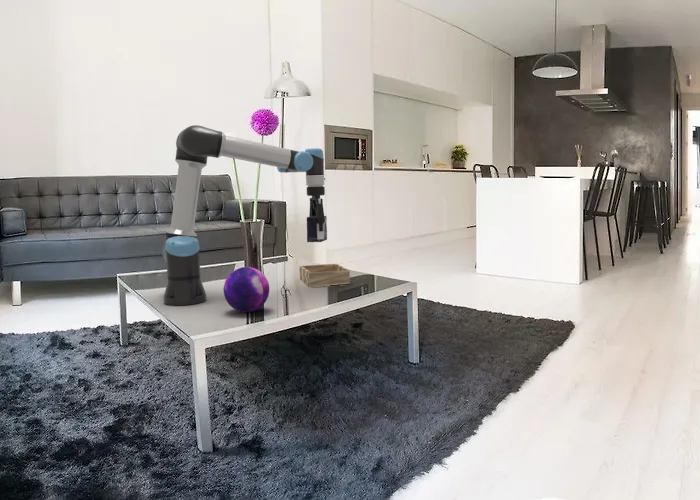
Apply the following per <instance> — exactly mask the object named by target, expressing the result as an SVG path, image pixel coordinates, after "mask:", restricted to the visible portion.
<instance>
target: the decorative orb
mask: <svg viewBox="0 0 700 500" xmlns="http://www.w3.org/2000/svg"><path fill="white" fill-rule="evenodd" d="M269 294H270V284H269V280H268V279H267V277H266V275H265V274H264V273H263V272H262V271H260V270H259V269H257V268H255V267H251V266H243V267H238V268H236V269H234V270H233V271H232V272H231V273H229V275H228V276H227V277H226V279H225V281H224V285H223V296H224V298H225V301H226V302H227V304H228V305H229V306H230V307H231V308H232V309H234V310H236V311H239V312H242V313H251V312H254V311H257V310H258V309H260V308H261V307H263V306H264V305H265V303H266V302H267V300H268V298H269V296H270V295H269Z"/></svg>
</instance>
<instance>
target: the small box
mask: <svg viewBox="0 0 700 500" xmlns="http://www.w3.org/2000/svg"><path fill="white" fill-rule="evenodd" d="M324 218H325V222H324V239H319V240H318V239H317V224H316V221H317V217H316V216H310V217H309V216H307V217H306V243H322V242H324V241H327V240H328V227H327V225H328V224H327V215H324Z"/></svg>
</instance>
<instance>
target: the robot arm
mask: <svg viewBox="0 0 700 500" xmlns="http://www.w3.org/2000/svg"><path fill="white" fill-rule="evenodd" d="M175 144H176V151H175V152H176V153H175V162H176V163H177V164H178V168H177V176H176V178H177V179H176V183H175V184H176V185H175V191H174V198H173V199H174V200H173V208H172V214H171V223H170V228H169V229H167V230H166V231H165V236H164V243H163V245H162V250H161V255H162V256H161V257H162V258H163V260H164V262H165V263H166V274H167V283H166V287H165V290H164V294H163V304H165V305H168V306H189V305H196V304H200V303H204V302H206V301H207V300H208V299H207V298H208V297H207V293H206V289H205V287H204V284H203V282H202V278H201V277H202V276H201V261H200V260H201V259H200V249H201V247H200V242H199V240H198V235H197V233H196V232H195V230H194V229H195V222H196V215H197V209H198V199H199V193H200V186H201V185H200V183H201V178H202V172H203V168H205V167H206V166H207V164H208V158H211V157H212V158H217V159H219V158H220V157H226V158H229V159H234V160H235V159H236V160H241V161H246V162H250V163H255V164H256V163H257V164H260V165H265V166H271V167H276V169H277V171H278V172H279V173H285V174H287V173H305V184H306V186H307V187H306V195H307V197H310V198H309V216H308V217H310V216H316V217H317V221H316V224H317V239H318V240H319V239H324V222H325V218H324V216H325V212H324V211H325V210H324V204H323V200H324V199H323V198H321V196H325V194H326V189H325V186H324V185H325V180H326V177H325V161H324V160H325V158H324V151H323V149H322V148H318V147H317V148H306V149H305V151H299V150H293V149H289V148H284V147H280V146H276V145H271V144H266V143H262V142H258V141H257V142H256V141H253V140H248V139H244V138H243V139H242V138H238V137H233V136H229V135H225V133H224V132H223V131H220V130H216V129H213V128H208V127H205V126H202V125H199V124H198V125H197V124H195V125H190V126H187V127H186V128H184V129H183V130H182V131H180V132H179V134H178V135H177V137H176V141H175Z"/></svg>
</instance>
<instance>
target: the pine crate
mask: <svg viewBox="0 0 700 500" xmlns="http://www.w3.org/2000/svg"><path fill="white" fill-rule="evenodd" d="M298 271H299V280H300V281H301V282H302V281H303V282H304V284H305V285H306V286H307V287H308V288H309V287H310V288H309V289H311V288H322V287H323V286H326V287H331V286H330V285H337V284H347V283H350V284H351V279H350V278H351V275H350V274H351V273H350V272H351V271H350V270H349V269H348V268H345V267H343V266H342V265H339V264H338V263H329V264H328V263H327V264H309V265H299V270H298ZM303 282H302V283H303ZM323 288H324V287H323Z"/></svg>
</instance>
